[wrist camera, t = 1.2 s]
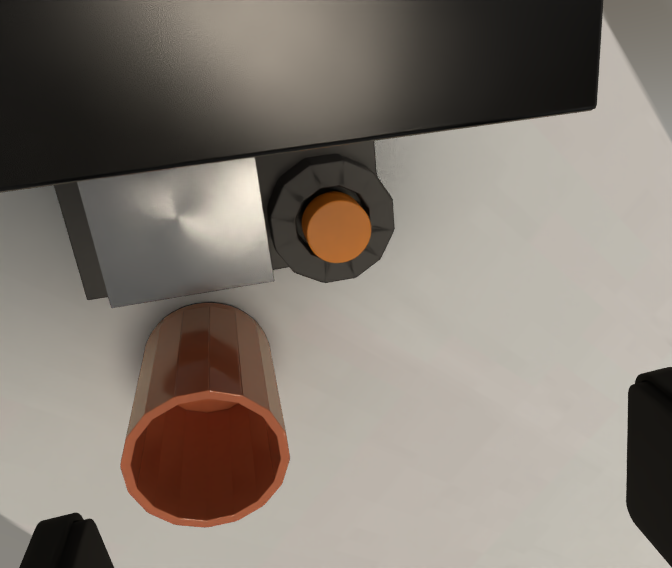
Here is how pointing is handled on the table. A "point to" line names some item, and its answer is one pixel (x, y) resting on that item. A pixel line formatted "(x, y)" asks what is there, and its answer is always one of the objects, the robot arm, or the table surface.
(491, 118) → the coffee maker
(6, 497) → the table surface
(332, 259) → the power button
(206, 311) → the cup
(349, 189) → the base
